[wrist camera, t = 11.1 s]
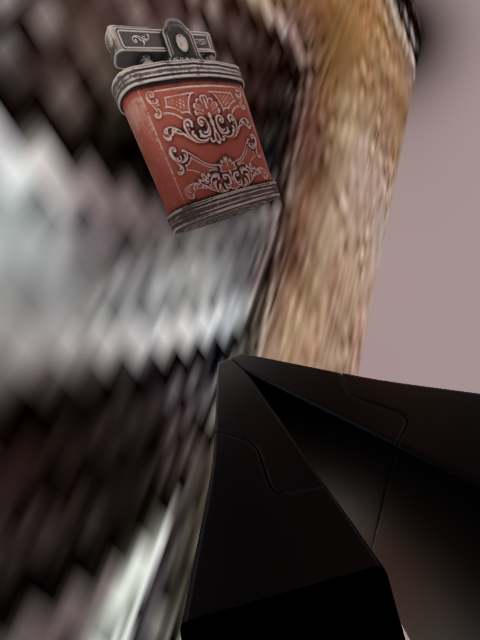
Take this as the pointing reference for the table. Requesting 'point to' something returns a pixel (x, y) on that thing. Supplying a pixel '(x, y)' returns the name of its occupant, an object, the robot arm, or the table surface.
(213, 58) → the lighter
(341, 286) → the table surface
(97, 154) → the table surface
